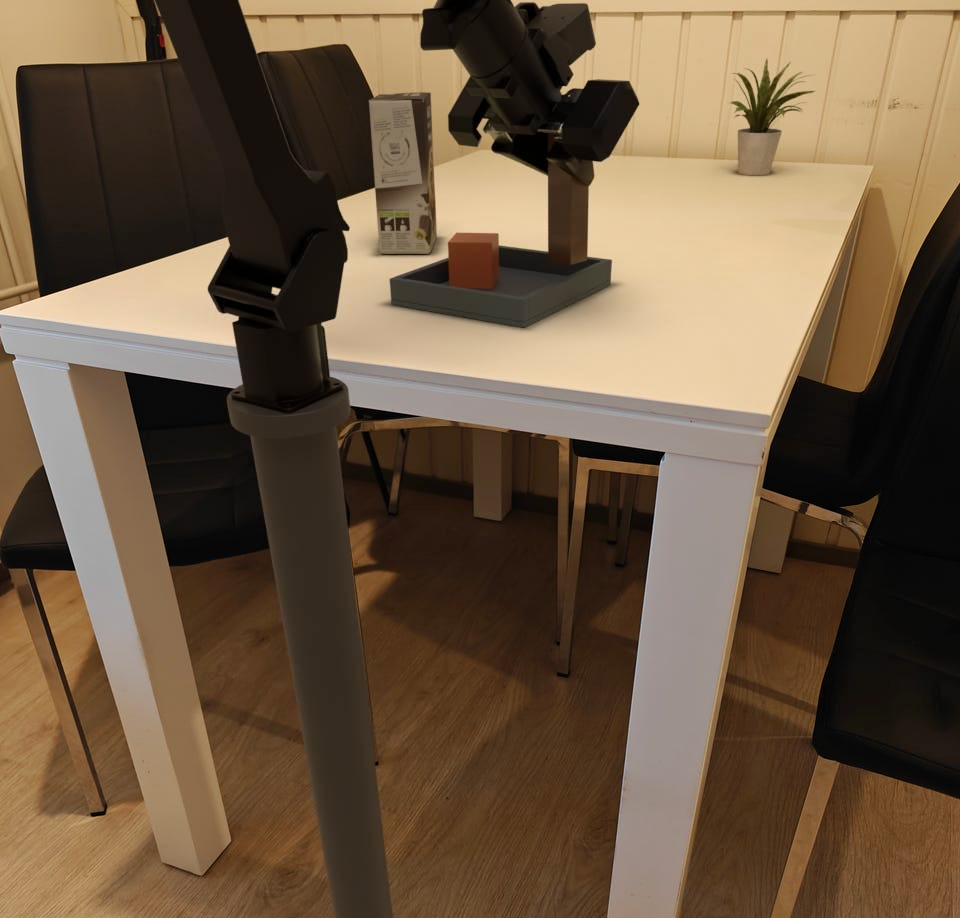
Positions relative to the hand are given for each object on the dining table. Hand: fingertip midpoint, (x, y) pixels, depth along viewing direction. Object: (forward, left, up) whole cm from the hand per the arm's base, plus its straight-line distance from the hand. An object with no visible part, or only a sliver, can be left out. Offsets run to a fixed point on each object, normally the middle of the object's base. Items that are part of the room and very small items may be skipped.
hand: (578, 180), depth 87 cm
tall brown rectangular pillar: (-2, 0, -7) cm, 7 cm away
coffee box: (+9, +28, -11) cm, 31 cm away
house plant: (+80, +10, -11) cm, 81 cm away
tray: (-4, +6, -10) cm, 13 cm away
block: (-3, +10, -10) cm, 15 cm away
